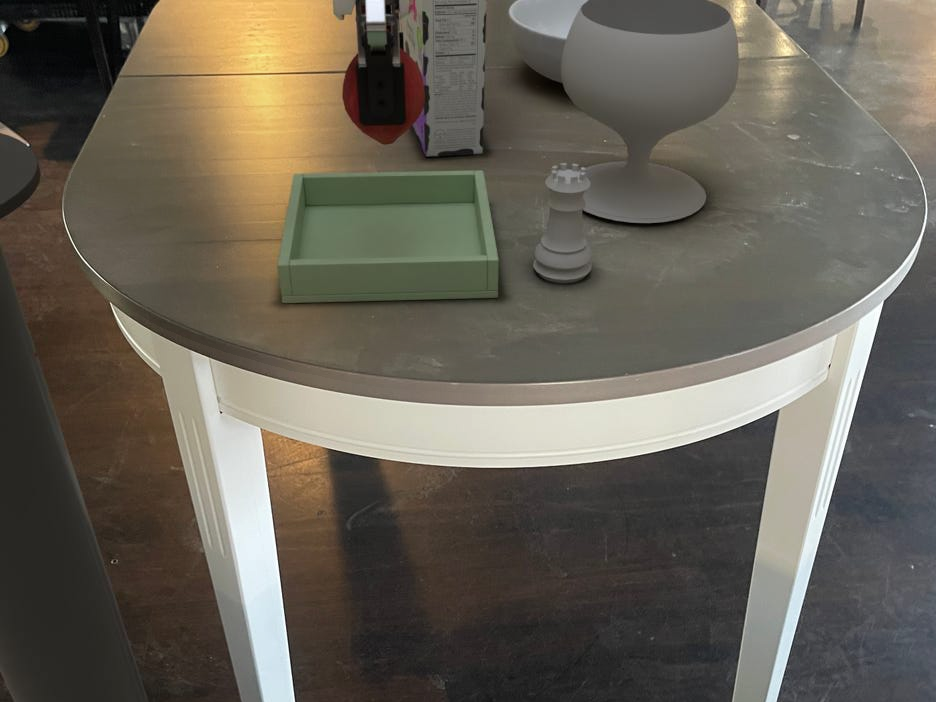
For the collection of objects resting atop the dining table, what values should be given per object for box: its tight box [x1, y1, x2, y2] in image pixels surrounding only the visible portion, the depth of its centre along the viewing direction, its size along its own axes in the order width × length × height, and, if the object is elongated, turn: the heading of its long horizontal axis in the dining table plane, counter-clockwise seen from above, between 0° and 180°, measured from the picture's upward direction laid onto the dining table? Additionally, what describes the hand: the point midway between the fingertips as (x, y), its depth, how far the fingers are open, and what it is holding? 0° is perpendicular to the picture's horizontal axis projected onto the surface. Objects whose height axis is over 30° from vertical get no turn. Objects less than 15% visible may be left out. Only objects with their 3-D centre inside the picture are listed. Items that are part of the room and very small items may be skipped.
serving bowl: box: [507, 0, 589, 84], centre depth 108 cm, size 21×21×7 cm
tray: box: [277, 170, 500, 304], centre depth 78 cm, size 16×16×3 cm
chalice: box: [561, 0, 740, 224], centre depth 83 cm, size 14×14×15 cm
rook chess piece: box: [532, 162, 592, 284], centre depth 75 cm, size 4×4×8 cm
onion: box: [341, 30, 425, 146], centre depth 71 cm, size 6×6×8 cm
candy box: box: [400, 0, 488, 158], centre depth 94 cm, size 14×6×16 cm, turn 12°
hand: (383, 103), depth 72 cm, fingers closed on onion, 5 cm apart
